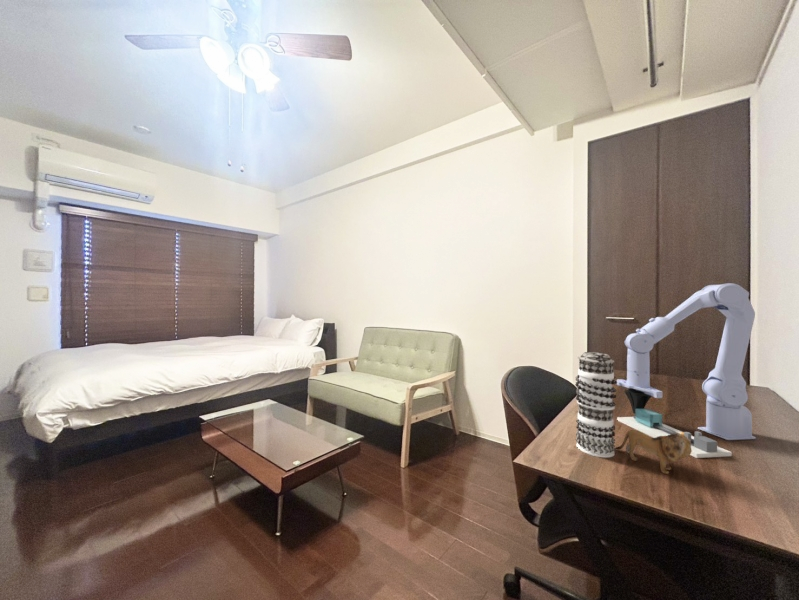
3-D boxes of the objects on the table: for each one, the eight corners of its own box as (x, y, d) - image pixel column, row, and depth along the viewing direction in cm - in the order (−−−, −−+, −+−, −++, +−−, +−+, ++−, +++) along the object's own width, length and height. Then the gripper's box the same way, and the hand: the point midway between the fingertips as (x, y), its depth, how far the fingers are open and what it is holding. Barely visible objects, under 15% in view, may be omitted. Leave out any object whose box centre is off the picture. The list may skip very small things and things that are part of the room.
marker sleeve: (646, 420, 97) (647, 408, 97) (662, 426, 92) (662, 414, 92) (635, 420, 96) (635, 408, 96) (650, 427, 91) (650, 414, 91)
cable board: (644, 419, 101) (644, 407, 101) (731, 456, 77) (731, 440, 77) (617, 420, 100) (617, 408, 100) (696, 458, 76) (696, 441, 76)
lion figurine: (694, 475, 68) (695, 434, 69) (687, 482, 66) (687, 440, 66) (619, 448, 81) (619, 414, 81) (610, 453, 78) (610, 418, 78)
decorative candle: (621, 450, 79) (622, 354, 79) (609, 462, 73) (610, 358, 73) (582, 438, 86) (583, 349, 86) (569, 448, 80) (570, 352, 80)
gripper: (608, 366, 105) (608, 406, 105) (647, 377, 90) (647, 423, 90) (627, 366, 105) (627, 405, 105) (669, 376, 91) (668, 422, 91)
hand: (637, 413), depth 98 cm, fingers closed
